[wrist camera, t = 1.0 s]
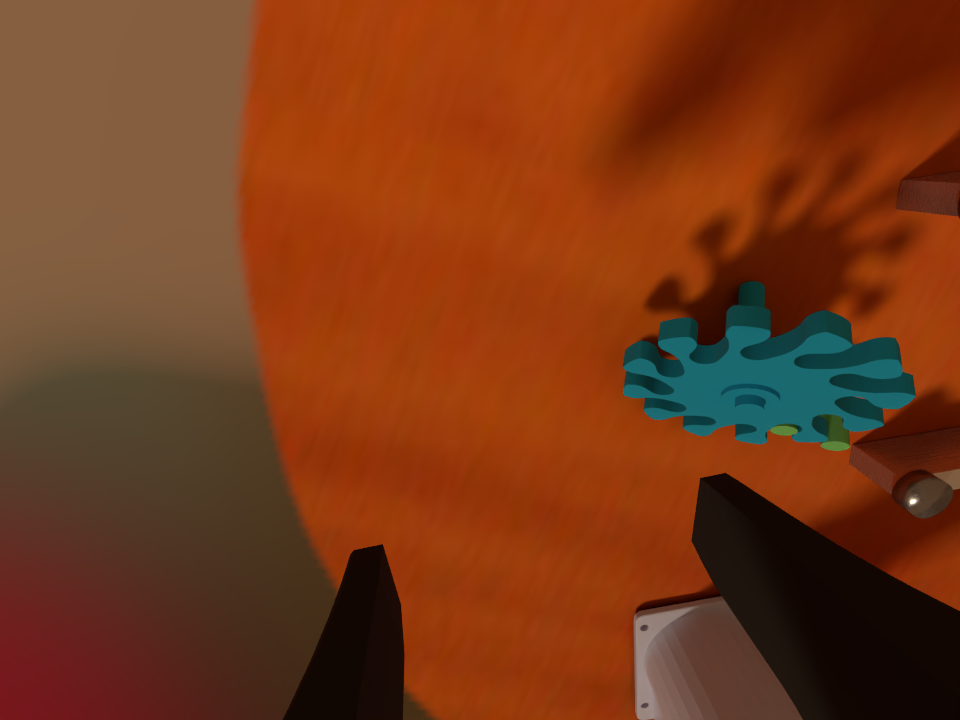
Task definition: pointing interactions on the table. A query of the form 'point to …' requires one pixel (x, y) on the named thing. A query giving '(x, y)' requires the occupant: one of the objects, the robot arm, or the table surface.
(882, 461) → the frame
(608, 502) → the table surface
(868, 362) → the teal cogwheel
